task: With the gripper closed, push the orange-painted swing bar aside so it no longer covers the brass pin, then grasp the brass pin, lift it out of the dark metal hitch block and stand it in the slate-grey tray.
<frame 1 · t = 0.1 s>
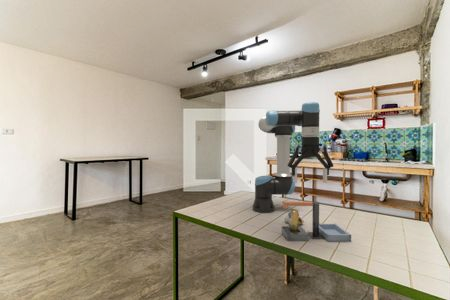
hand: (310, 182, 99), 28 cm above the table, fingers open, 13 cm apart
swing bar: (301, 205, 105), point 16 cm above the table, hinge at 0.0°
gate post: (315, 236, 105), on the table
hitch block: (294, 236, 106), on the table
pin: (294, 223, 105), in the hitch block
tray: (331, 235, 106), on the table
rainbow disc toy: (293, 224, 123), on the table
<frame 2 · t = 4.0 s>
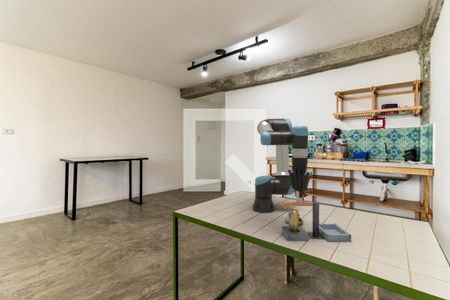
hand: (299, 203, 108), 16 cm above the table, fingers closed
swing bar: (301, 205, 105), point 16 cm above the table, hinge at 0.9°, touching gripper
everything else where it was.
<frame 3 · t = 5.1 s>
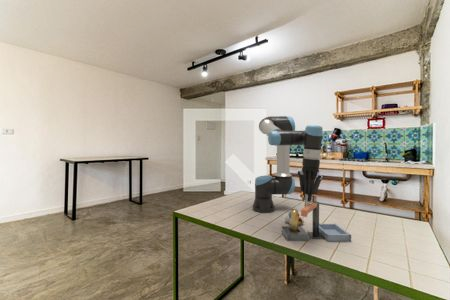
hand: (307, 207, 102), 15 cm above the table, fingers closed
swing bar: (310, 208, 100), point 16 cm above the table, hinge at 49.7°, touching gripper
everything else where it was.
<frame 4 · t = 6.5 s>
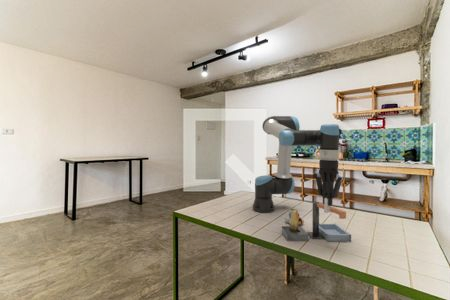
hand: (327, 212, 95), 15 cm above the table, fingers closed
swing bar: (327, 209, 98), point 16 cm above the table, hinge at 110.3°, touching gripper
everything else where it was.
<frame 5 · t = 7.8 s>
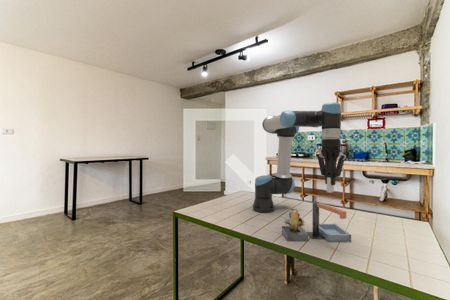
hand: (330, 192, 94), 24 cm above the table, fingers closed
swing bar: (327, 209, 98), point 16 cm above the table, hinge at 111.1°
everything else where it was.
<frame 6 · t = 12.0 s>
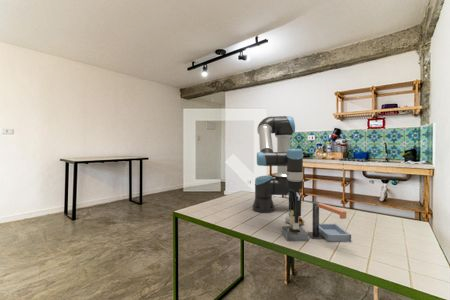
hand: (294, 227, 105), 5 cm above the table, fingers closed on pin, 4 cm apart
pin: (294, 223, 105), in the hitch block, touching gripper
everything else where it was.
when the fingers open (6 cm above the table, at t = 18.8 s): pin stays where it is, resting on tray.
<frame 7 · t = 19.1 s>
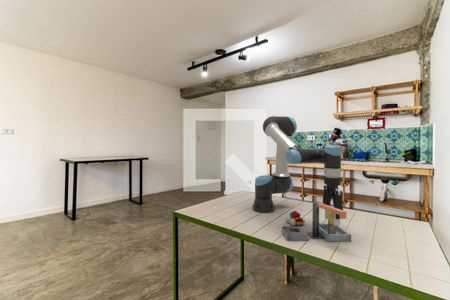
hand: (332, 221, 106), 7 cm above the table, fingers open, 8 cm apart
pin: (331, 221, 106), in the tray, point 7 cm above the table
everything else where it was.
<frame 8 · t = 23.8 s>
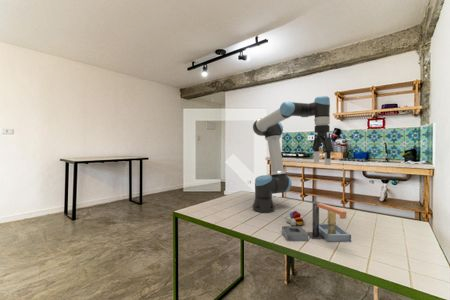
hand: (321, 163, 117), 35 cm above the table, fingers open, 13 cm apart
nothing on the table moved.
at the end: pin inside the target area on the tray (0.1 cm from its centre), point 7.1 cm above the tray's base; pin touching tray; swing bar at +111° (first picture: +0°) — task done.
